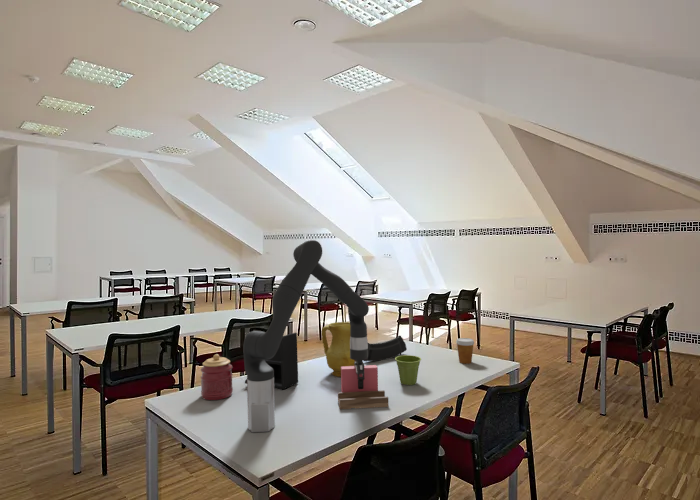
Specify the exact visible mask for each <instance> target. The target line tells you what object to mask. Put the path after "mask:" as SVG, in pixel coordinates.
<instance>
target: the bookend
mask: <svg viewBox="0 0 700 500" xmlns="http://www.w3.org/2000/svg"><path fill="white" fill-rule="evenodd" d="M297 335H298V332H293V333H289V334H286V335H283V337H282V340H281V343H280V346H279V348H278V350H277V352H276V354H275V355H274V357H273V358H271V359H269V360H265V362H266V363H267V364H268V365H269V366H270V367H272V368H273V370H274V389H280V390H285V389H287V388H290V387H292V386H294V385H296V384H298V383H299V366H298V364H299V363H298V362H299V361H298V336H297ZM244 383H246V384H247V378H246V379H245V380H244Z"/></svg>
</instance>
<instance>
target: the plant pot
mask: <svg viewBox="0 0 700 500" xmlns="http://www.w3.org/2000/svg"><path fill="white" fill-rule="evenodd" d="M394 361H396V365H397V369H398V376H399V381H400V382H399V383H400V384H401V385H405V386H414V385H416V384H417V382H418V381H417V380H418V374H419V367H420V364H421V363H420V362H421V361H422V358H421V357H420V356H416V355H408V354H406V355H404V354H403V355H397V356H395V358H394Z"/></svg>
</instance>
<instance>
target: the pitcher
mask: <svg viewBox="0 0 700 500" xmlns="http://www.w3.org/2000/svg"><path fill="white" fill-rule="evenodd" d="M327 331H329V332H330V334H331V336H332V337H331V342H330V345H329V344H328V340H327ZM321 340H322V344H323V345H322V346H323V350H324V351H323V352H324V354H325V358H326V359H325V361H326V363H327V366H328V368H329V369H331V370H332V372H331V375H332V376H333V377H340V378H341V367H343V366H354V360H353V359H351V358H350V321H338V322H330V323H329V324H327V325H325V326H323V327H322V329H321Z"/></svg>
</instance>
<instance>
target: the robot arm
mask: <svg viewBox="0 0 700 500" xmlns="http://www.w3.org/2000/svg"><path fill="white" fill-rule="evenodd" d="M292 255H293V259H294V261H295V264H294V266H292V268H291V269H290V270H289V271H288V273H287V274H286V275H285V277H283V279H282V280H281V281H280V283H279V284H278V286H277V288H276V291H275V292H274V294H273V296H272V302H271V304H272V305H271V307H272V320H271V322H270V325H269V327H268V329H267V330H266V332H265V331H258V330H252V331H249V332H248V333H247V334H246V335H245V337H244V341H243V346H242V347H243V348H242V349H243V362H244V365H243V366H244V371H245V374H246V379H247V383H246V385H247V386H246V391H247V395H246V396H247V429H248V430H249V431H250V432H251V433H263V432H270V431H271V430H272V429H274V428H275V426H276V425H275V424H276V419H275V418H276V417H275V416H276V415H275V414H276V413H275V388H274V370H273V368H272V367H270V366H269V365H268V364H267V363H266V362H265V360H269V359H271V358H273V357H274V355H275V354H276V352H277V350H278V348H279V346H280V343H281V340H282V337H283V336H285V335H284V334H285V331H286V329H287V328H288V327H287V326H288V324H289V321H290V320H291V317H292V315H293V314H294V311H295V309H296V307H297V305H298V304H299V301H300V299H301V298H302V295H303V292H304V290H305V288H306V285H307V283H308V282H309V278H310V277H311V275H312V276H313V277H314V278H316V279H317V280H318V281H319V282H320V283H322V285H324V286H325V287H326V288H327V289H328V290H329V291H330V292H331V293H332V294H333V295H334V296H335V297H336V298H337V299H338V300H339V301H340V303H343V304H344V305H345V306H346V307H347V313H348V314H347V315H348V320H349V321H348V322H349V323H350V358H351V359H353V360H354V366H355V368H356V375H357V377H358V378H357V379H358V389H363V388H364V385H363V380H364V379H365V377H364V373H365V372H364V366H365V363H364V361H363V360H365V359H367V358H368V343H369V341H368V340H369V339H368V325H367V323H366V322H365V317H366V316H367V315H368V313H369V310H370V308H369V304H368V303H367V301H365V299H364V298H362V297H361V296H360V295H359V294H358V293H356V292H355V291H354V290H353V288H351V286H350V285H349V284H348V283H347V282H346V281H345V280H344V279H343V278H342V277H341V276H340V275H338V274H337V273H335V272H332V271H331V270H329V269H328V268H326V267H324V266H323V265H322V264H321V263H319V262H320V260H321V258H322V256H323V247H322V244H321V243H320V241H317V240H316V239H315V240H314V239H309V240H306V241H304V242H302V244H299V245H298V246H296V247H295V249H294V250H293V254H292ZM360 375H362V377H360Z"/></svg>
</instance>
